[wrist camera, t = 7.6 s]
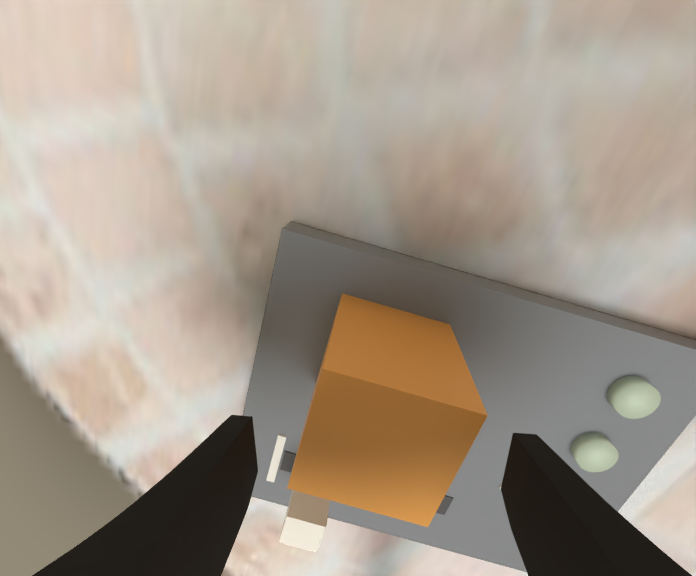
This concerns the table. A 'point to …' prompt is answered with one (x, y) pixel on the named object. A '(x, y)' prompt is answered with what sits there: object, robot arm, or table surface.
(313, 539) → the switch
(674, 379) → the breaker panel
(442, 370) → the cap
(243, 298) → the table surface
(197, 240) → the table surface
